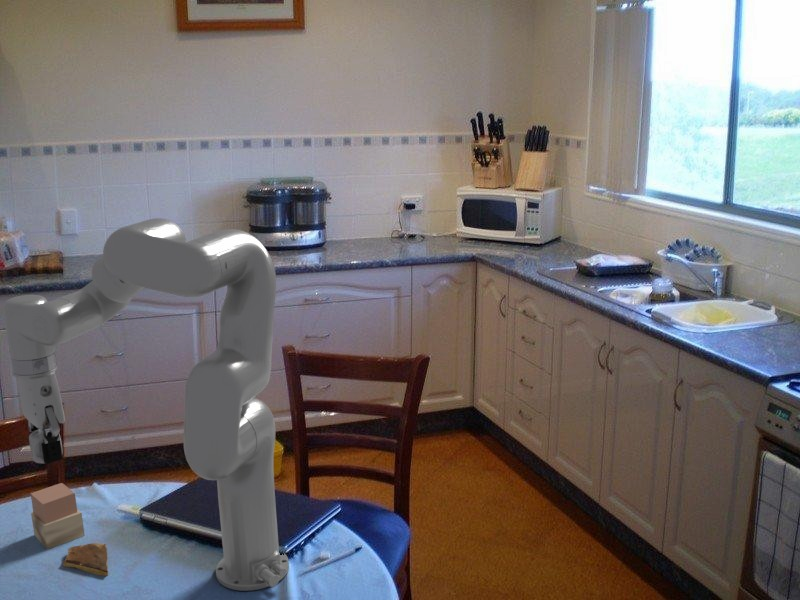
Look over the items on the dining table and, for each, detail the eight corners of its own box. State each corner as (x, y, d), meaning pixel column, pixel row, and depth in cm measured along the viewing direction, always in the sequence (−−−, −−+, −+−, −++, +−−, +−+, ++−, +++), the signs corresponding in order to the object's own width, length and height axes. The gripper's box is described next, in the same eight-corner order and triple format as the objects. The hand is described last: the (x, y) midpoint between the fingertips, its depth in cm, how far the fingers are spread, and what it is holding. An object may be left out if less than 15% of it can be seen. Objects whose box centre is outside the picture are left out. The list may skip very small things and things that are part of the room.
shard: (108, 579, 152) (107, 570, 152) (62, 588, 150) (60, 579, 149) (107, 548, 162) (106, 539, 162) (64, 556, 160) (62, 547, 159)
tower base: (84, 536, 166) (81, 512, 165) (47, 550, 162) (44, 526, 160) (70, 522, 171) (67, 499, 170) (34, 535, 167) (30, 512, 165)
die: (64, 459, 161) (60, 434, 160) (35, 466, 159) (31, 440, 158) (59, 449, 165) (56, 425, 164) (31, 456, 163) (27, 431, 162)
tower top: (77, 512, 165) (74, 492, 164) (45, 523, 161) (42, 504, 160) (64, 501, 169) (61, 482, 168) (33, 512, 165) (30, 493, 164)
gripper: (72, 370, 153) (84, 464, 158) (39, 348, 166) (51, 436, 171) (28, 380, 149) (42, 477, 153) (-3, 357, 161) (11, 447, 166)
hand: (47, 454), depth 162 cm, fingers closed on die, 5 cm apart
